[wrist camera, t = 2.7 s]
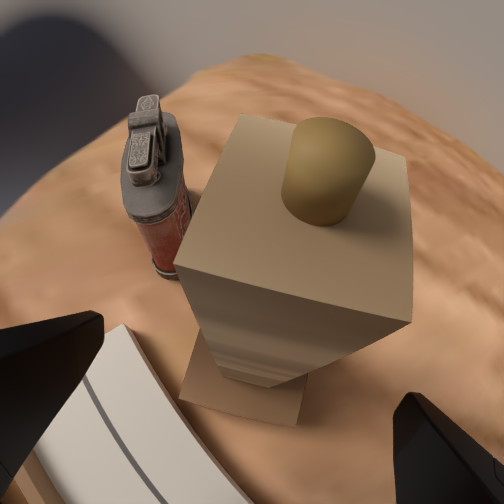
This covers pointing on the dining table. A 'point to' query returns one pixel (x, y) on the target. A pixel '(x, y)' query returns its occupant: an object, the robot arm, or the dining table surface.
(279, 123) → the wooden post on base
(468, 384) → the dining table surface
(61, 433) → the board
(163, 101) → the dining table surface
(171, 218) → the lighter
